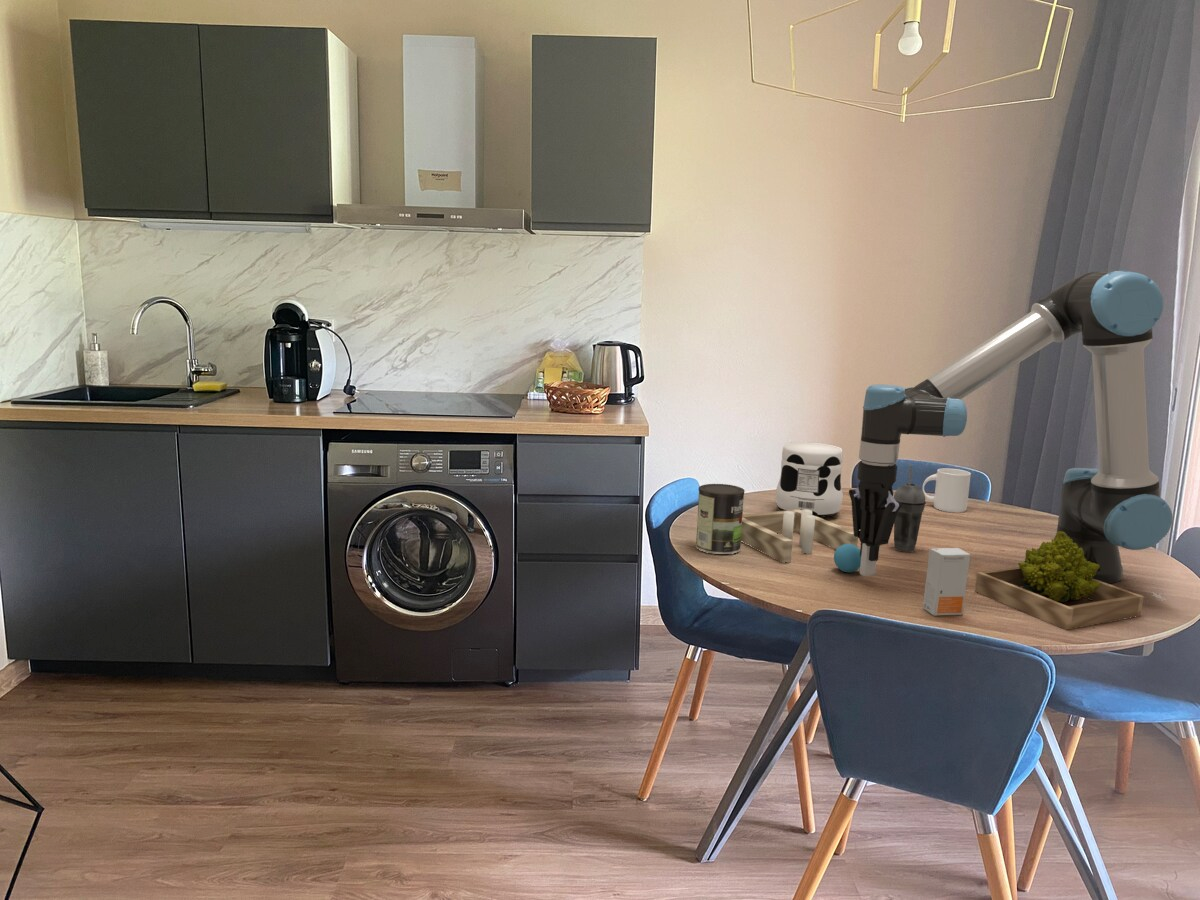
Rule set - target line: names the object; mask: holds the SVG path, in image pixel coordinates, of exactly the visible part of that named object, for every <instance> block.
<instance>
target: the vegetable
mask: <svg viewBox="0 0 1200 900" xmlns="http://www.w3.org/2000/svg"><path fill="white" fill-rule="evenodd" d="M1056 533H1057V534H1056ZM1056 533H1055V536H1056V537H1055V536H1054V537H1053V538H1052V539H1051V541H1046V542H1045V541H1042V542H1041V544H1040V546H1039V547H1037V549H1036V548H1034V547H1031V549H1026V550H1025V555H1024V556H1025V558H1024V562H1017V565H1018V567H1020V569H1021V571H1022V572H1023V576H1024V577H1025V578H1024V580H1023V582H1024V583H1025V584H1023V586H1022V587H1021V588H1023V589H1025V590H1028V591H1031V592H1033V593H1036V594H1038V595H1041V596H1043V597H1046V598H1048V599H1051V600H1054V601H1056V602H1062V603H1064V602H1067V601H1068V600H1078V601H1079V600H1080V599H1082V598H1085V597H1088V594H1092V592H1094V591H1095V590H1096V589H1097V588H1098V587H1099V586H1100V585H1101V583H1098V582H1096V581H1093V580H1092V579H1093V578H1092V577H1093V576H1095V575H1096V574H1095V573H1096V571H1097V570H1098V569H1099V567H1100V565H1098V564H1096V563H1091V562H1090V561H1088V562H1087V560H1086V559H1085V557H1084V552H1083V548H1082V547H1081V548H1078V546H1077V544H1076V543H1073V539H1070V537H1068V536H1067V534H1066V533H1065V532H1063V531H1058V532H1057V531H1056Z"/></svg>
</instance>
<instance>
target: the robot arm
mask: <svg viewBox="0 0 1200 900" xmlns="http://www.w3.org/2000/svg"><path fill="white" fill-rule="evenodd" d="M1163 310H1164V297H1163V294H1162V291H1161V289H1160V288H1159V286H1158V284H1157V283H1156V282H1155V281H1154V280H1152V279H1151V278H1150V277H1149V276H1146V275H1145V274H1142V273H1139V272H1133V271H1128V270H1113V271H1092V272H1086V273H1084V274H1083V273H1082V274H1081V275H1078V276H1076V277H1074V278H1072V279H1070V280H1069V281H1067V282H1065V283H1063V284H1062V285H1060V286H1059V287H1057V288H1056V289H1054V290H1053V291H1052V292H1050V293H1048V294H1047V295H1046V296H1044V297H1043V298H1041V299H1039V300H1038V301H1036V302H1035V303H1033V304H1032V305H1031V309H1030V312H1028V313H1027V314H1025V315H1024V316H1022V317H1021V318H1019V319H1018V320H1016V321H1015V322H1013V323H1012V324H1011V323H1010V325H1009V326H1007V327H1005V328H1004V329H1002V330H1000V331H999V332H998V333H996V334H994V335H993V336H991V337H989V338H988V339H987V340H985V341H984V342H981V344H979V345H976V347H974V348H973V349H971V350H970V351H968V352H966V353H965V354H964V355H962V356H960V357H959V358H957V359H956V360H954V361H952V362H951V363H949V364H947V365H946V366H945V367H943V368H942V369H940V370H939V371H937V372H936V373H933V374H932V375H931V376H930V377H928V378H926V379H925V380H923V381H921V382H919V383H918V384H916V385H915V386H913V387H905V388H904V387H903V386H899V385H894V384H892V385H891V384H890V385H889V384H871V385H869V386H868V387H867V388H866V390H865V395H864V400H863V401H864V402H863V407H862V409H863V410H862V411H863V412H862V425H861V426H862V427H861V435H860V436H861V437H860V443H859V444H860V445H859V452H858V459H859V460H860V461H859V462H858V465H857V476H856V477H857V479H858V480H859V482H858V485H857V487H856V488H852V489H851V488H850V489H849V491H848V495H849V498H850V501H851V502H850V503H851V514H852V526H853V527H852V529H853V530H852V531H854V536H855V537H858V540H859V541H860V548H859V549H860V556H861V565H860V568H859V574H860V575H861V576H864V577H866V576H867V577H868V576H875V574H876V567H877V566H876V565H877V561H878V560H879V554H880V553H879V552H880V548H881V547H880V546H883V545H888V544H889V542H890V541H889V540H890V538H891V534H892V531H893V529H894V522H895V518H896V515H897V512H898V511H899V510H900V508H901V507H902V503H901V502H896V500H895V499H894V491H893V490H894V489H893V486H894V484H895V483H896V481H897V476H898V475H897V474H898V465H897V464H896V463H898V461H899V453H900V443H901V437H902V435H920V436H937V437H944V438H946V437H959V436H960V435H962V434H963V432H964V431H965V429H966V425H967V421H968V411H967V405H966V403H965V402H964V400H963V399H964V398H965V397H967V396H969V395H971V394H972V393H974V392H975V391H976V390H978V389H980V388H982V387H983V386H985V385H986V384H988V383H989V382H991V381H993V380H994V379H996V378H998V377H999V376H1001V375H1003V374H1004V373H1005V372H1007V371H1008V370H1010V369H1012V368H1013V367H1015V366H1016V365H1018V364H1019V363H1021V362H1022V361H1024V360H1026V359H1027V358H1029V357H1031V356H1033V355H1034V354H1036V353H1037V352H1039V351H1040V350H1042V349H1044V348H1045V347H1047V346H1048V345H1050V344H1051V343H1053V342H1055V343H1062V342H1064V341H1066V340H1067V339H1068V338H1070V337H1073V336H1074V335H1077V334H1080V333H1081V338H1082V341H1081V342H1082V346H1083V348H1085V349H1086V350H1087V351H1089V352H1090V353H1091V357H1092V358H1091V359H1092V370H1093V371H1092V375H1093V376H1092V377H1093V389H1094V409H1095V425H1096V428H1095V429H1096V440H1097V441H1096V443H1097V459H1098V468H1092V467H1091V468H1089V467H1088V468H1087V467H1083V468H1082V467H1073V468H1069V469H1067V470H1066V472H1065V474H1064V477H1063V481H1062V484H1061V485H1062V489H1061V496H1060V497H1061V498H1060V504H1059V505H1060V506H1059V511H1058V514H1059V515H1058V521H1057V529H1056V533H1055V536H1054V537H1056V534H1057V532H1058V531H1063V532H1065V533H1066V534H1067V536H1068V537H1070V539H1073V543H1076V544H1077V546H1078V548H1081V547H1082V548H1083V552H1084V557H1085V559H1086V560H1087V562H1088V561H1090V562H1091V563H1096V564H1098V565H1100V567H1099V569H1098V570H1097V571H1096V573H1095V574H1096V575H1095V576H1093V577H1092V578H1093V579H1096V580H1099V581H1102V582H1104V583H1107V584H1111V583H1113V584H1114V583H1117V582H1120V581H1121V580H1122V579H1123V571H1124V568H1123V565H1122V559H1121V554H1120V550H1119V547H1121V548H1122V549H1127V550H1131V551H1141V550H1145V549H1148V548H1151V547H1154V546H1155V545H1157V544H1159V543H1160V542H1161V541H1162V540H1163V538H1165V537H1166V536H1167V535H1168V533H1169V532H1170V530H1171V528H1172V524H1173V518H1174V517H1173V511H1172V508H1171V506H1170V505H1169V504H1168V503H1167V502H1166V500H1165V499H1163V498H1162V497H1161V494H1160V492H1161V491H1160V479H1159V476H1157V474H1155V473H1154V472H1152V471H1151V469H1150V462H1149V461H1150V458H1149V457H1150V456H1149V437H1148V435H1149V433H1148V419H1147V418H1148V415H1147V395H1146V394H1147V393H1146V392H1147V391H1146V377H1145V376H1146V375H1145V374H1146V373H1145V355H1144V354H1145V351H1144V350H1145V348H1146V347H1147V346H1148V345H1149V344H1150V343H1151V342H1152V341H1153V328H1154V327H1155V326H1156V323H1157V322H1158V320H1160V318H1161V316H1162V314H1163Z"/></svg>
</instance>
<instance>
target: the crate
mask: <svg viewBox="0 0 1200 900" xmlns="http://www.w3.org/2000/svg"><path fill="white" fill-rule="evenodd" d="M1024 578H1025V577H1024V576H1023V572H1022V571H1021V569H1020V567H1019V566H1015V567H1013V566H1012V567H1007V568H999V569H994V570H993V569H991V570H987V571H979V572H978V571H977V572H976V581H975V586H974V592H975V591H976V592H975V593H977V592H978V593H977V594H980V595H983V596H984V597H987V598H989V599H992V600H995V601H996V602H999V603H1001V602H1002V603H1001V604H1004V605H1007V606H1009V607H1010V608H1013V609H1016V610H1018V611H1020V612H1023V613H1024V614H1028V615H1030V616H1032V617H1035V618H1037V619H1040V620H1042V621H1043V622H1047V623H1048V624H1051V623H1052V625H1053V624H1054V626H1056V625H1057V626H1056V627H1058V626H1059V627H1058V628H1061V627H1062V628H1061V629H1063V628H1064V630H1065V629H1070V630H1073V629H1072V628H1075V629H1077V628H1076V627H1080V628H1083V627H1082V626H1086V627H1090V626H1089V625H1091V626H1095V625H1094V624H1097V625H1101V624H1100V623H1102V624H1106V623H1105V622H1107V623H1111V622H1110V621H1113V622H1116V621H1115V620H1118V621H1120V620H1119V619H1123V620H1125V619H1124V618H1129V619H1131V618H1130V617H1134V618H1136V617H1135V616H1140V617H1141V615H1142V611H1143V610H1142V609H1143V604H1144V595H1141V594H1138V593H1135V592H1133V591H1130V590H1127V589H1123V588H1121V587H1118V586H1115V585H1113V584H1111V583H1104V582H1102V581H1099V580H1096V579H1092V580H1093V581H1096V582H1098V583H1101V585H1100V586H1099V587H1098V588H1097V589H1096V590H1095V591H1094V592H1092V594H1088V597H1086V598H1085V599H1088V598H1089V599H1088V600H1090V599H1091V600H1090V601H1092V602H1088V603H1087V602H1086V603H1081V604H1075V605H1070V606H1069V605H1066V604H1063V603H1061V602H1060V601H1057V602H1056V601H1054V600H1052V599H1048V598H1046V597H1043V596H1041V595H1038V594H1036V593H1033V592H1031V591H1028V590H1025V589H1023V588H1022V587H1023V584H1025V583H1024V582H1023V580H1024ZM1093 600H1094V601H1093Z"/></svg>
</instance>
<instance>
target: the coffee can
mask: <svg viewBox="0 0 1200 900" xmlns="http://www.w3.org/2000/svg"><path fill="white" fill-rule="evenodd" d="M745 492H746V491H745V489H744V487H743V488H742V487H740V486H738V485H732V484H725V483H707V484H702V485H699V486H698V503H697V504H698V505H697V520H696V521H697V526H696V542H695V548H696V547H697V548H698V549H700V550H702V551H705V552H708V553H715V554H732V553H736V552H738V551H740V552H741V550H740V549H741V545H742V544H741V543H742V542H741V529H742V515H743V512H744V499H745ZM708 553H707V554H708ZM736 554H737V553H736ZM732 555H733V554H732Z"/></svg>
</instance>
